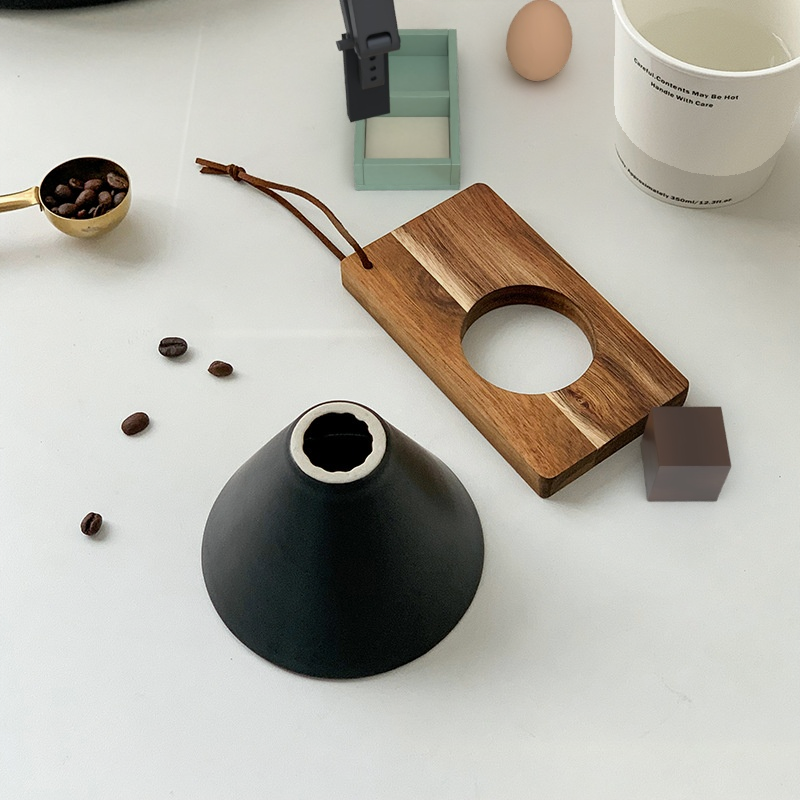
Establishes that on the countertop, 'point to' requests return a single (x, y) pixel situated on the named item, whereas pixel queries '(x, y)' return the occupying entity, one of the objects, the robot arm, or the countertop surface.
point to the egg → (539, 40)
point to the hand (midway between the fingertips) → (339, 48)
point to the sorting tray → (414, 119)
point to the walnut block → (685, 454)
